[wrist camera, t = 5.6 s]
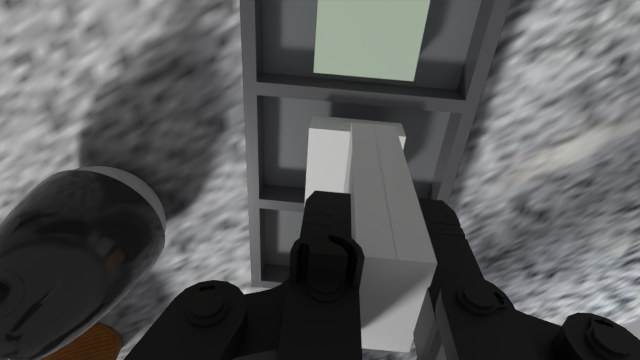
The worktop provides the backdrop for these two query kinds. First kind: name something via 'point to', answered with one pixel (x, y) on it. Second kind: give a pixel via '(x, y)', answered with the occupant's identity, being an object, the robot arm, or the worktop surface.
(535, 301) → the worktop surface
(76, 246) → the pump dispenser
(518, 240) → the worktop surface
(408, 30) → the key sage
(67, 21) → the worktop surface
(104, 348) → the disposable coffee cup
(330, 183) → the key grey
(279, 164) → the grey compartment tray
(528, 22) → the worktop surface
